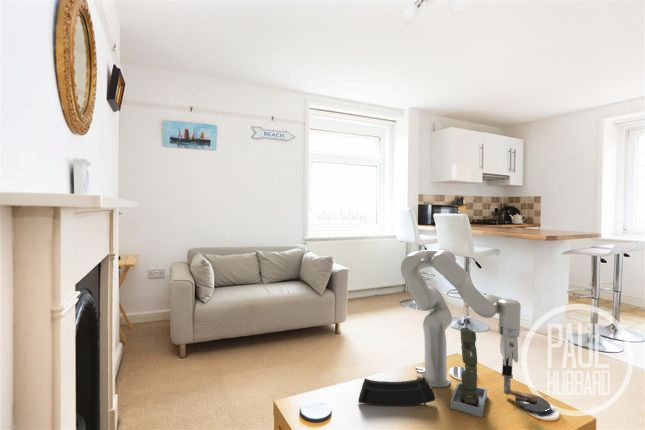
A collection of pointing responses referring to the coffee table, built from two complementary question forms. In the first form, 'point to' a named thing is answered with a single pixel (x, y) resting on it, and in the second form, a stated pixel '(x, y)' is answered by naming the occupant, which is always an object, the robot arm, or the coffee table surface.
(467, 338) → the mechanical leg
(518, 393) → the crank
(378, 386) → the magazine
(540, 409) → the crank base
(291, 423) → the coffee table surface
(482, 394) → the tray
